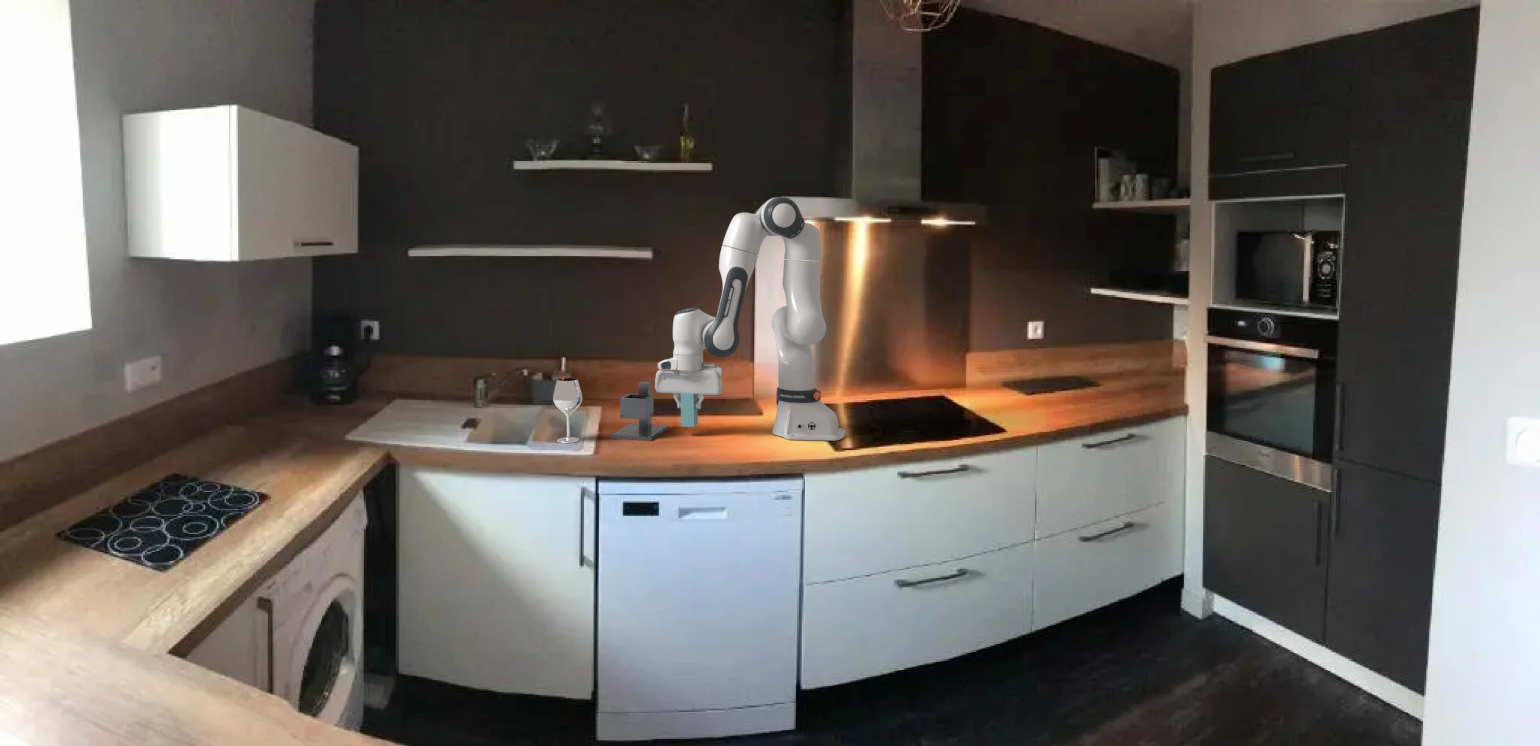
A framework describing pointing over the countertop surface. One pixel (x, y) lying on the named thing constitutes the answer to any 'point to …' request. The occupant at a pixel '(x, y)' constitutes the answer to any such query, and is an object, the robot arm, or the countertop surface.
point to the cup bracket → (639, 415)
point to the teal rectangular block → (689, 410)
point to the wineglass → (567, 402)
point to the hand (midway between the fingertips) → (689, 408)
